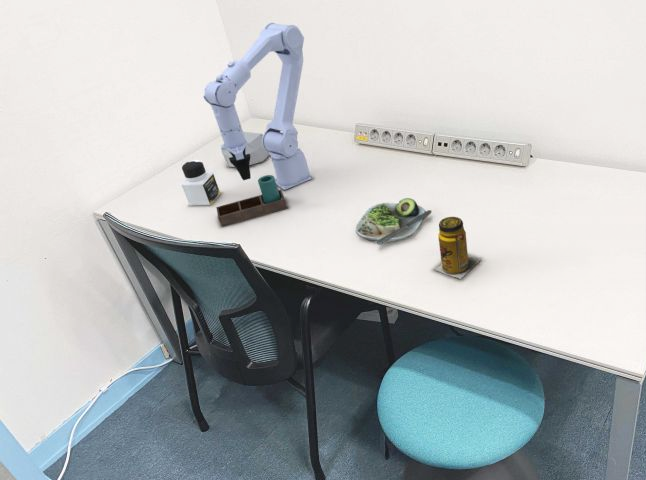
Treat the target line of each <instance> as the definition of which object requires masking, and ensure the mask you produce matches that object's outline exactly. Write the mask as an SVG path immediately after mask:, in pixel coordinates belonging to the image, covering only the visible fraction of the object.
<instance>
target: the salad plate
mask: <svg viewBox="0 0 646 480" xmlns="http://www.w3.org/2000/svg"><path fill="white" fill-rule="evenodd" d="M398 202H399V203H397V202H395V203H394V202H381V203H376V204H374V205H371V206H370V207H369V208H368V209H367V210H366V211H365V212H364V214H362V217H361V218H360V220H359V221H358V222H357V224H356V226H355V232H356V234H357V235H358V236H359V237H361V238H363V239H365V240H368V241H370V242H376V245H379V246H381V245H384V244H386V243H391V242H394V241H398V240H399V241H400V240H403V239H405V238H408V237H411V236H413V235H414V234H415V232H416V231H417V230H418V229H419V227H420V225H421V224H422V222H423V221H424V220H425V219H426V218H428V216H430V215H431V214H432V210H429V209H428V210H425V209H424V208H423V207H422V206H420V205H418V204H417V202H416V200H414V199H413V198H410V197H405V198H402V199H400V200H399V201H398Z"/></svg>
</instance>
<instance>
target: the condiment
mask: <svg viewBox="0 0 646 480" xmlns="http://www.w3.org/2000/svg"><path fill="white" fill-rule="evenodd" d="M464 227H465V226H464V222H463V220H462V218H460V217H457V216H447V217H444V218H442V219H441V220H440V221H439V223H438V234H437V235H438V245H439V252H440V262H441V264H440V265H438V266H437V267H436V268H434V270H433V271H437V272H438V273H442V274H445V275H447V276H450V277H453V278H456V279H459V280H462V278H464V277H465V276H466V275H467V274H469V272H470V271H471V270H472V269H473V268H474V267H475V266H477V265H478V263H479V262H480V261H482V258H478V257H475V256H472V255H469V254H468V243H467V242H468V241H467V232H466V230H465V228H464Z"/></svg>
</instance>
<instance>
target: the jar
mask: <svg viewBox="0 0 646 480" xmlns="http://www.w3.org/2000/svg"><path fill="white" fill-rule="evenodd" d="M275 179H276V177H275V176H274V175H272V174H267V175H262V176H260V177H259V178H258V179H257V184H258V186H259V190H260V194H261V195H262V196H263V199H264V203H265V204H266V203H270V202H274V201H277V200H281V198H280V195H279V191H278V190H279V188H278V185H277V184H276V181H275Z"/></svg>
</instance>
